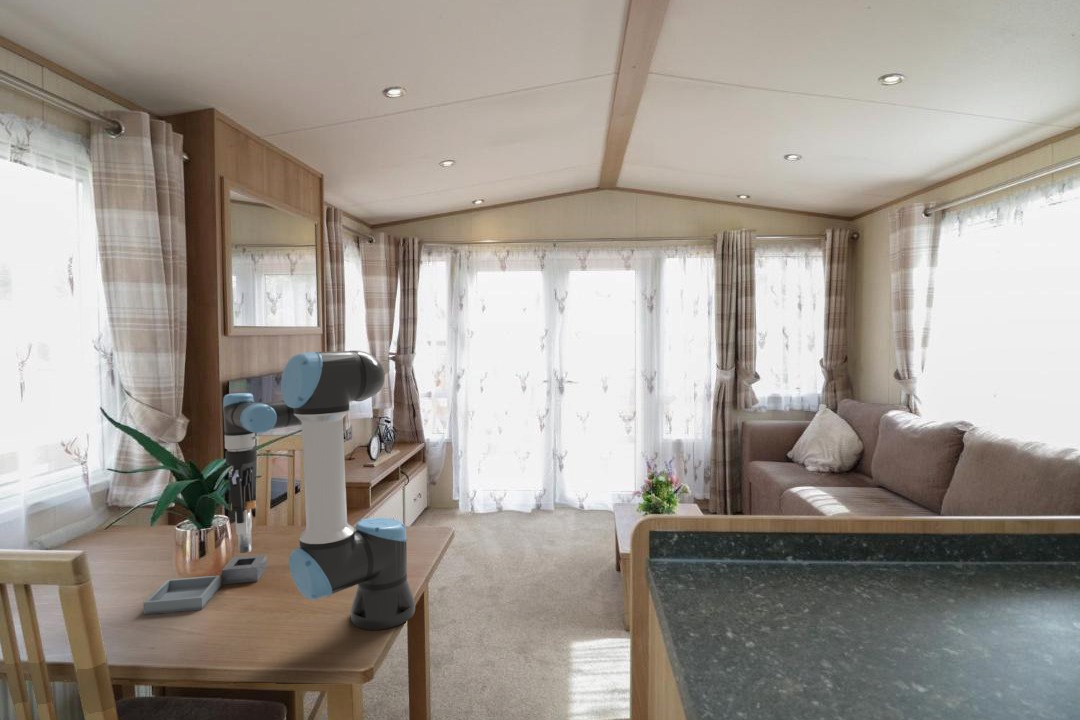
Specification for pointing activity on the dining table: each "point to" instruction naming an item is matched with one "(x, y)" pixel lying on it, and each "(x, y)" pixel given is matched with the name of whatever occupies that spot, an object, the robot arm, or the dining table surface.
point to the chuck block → (244, 569)
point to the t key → (245, 539)
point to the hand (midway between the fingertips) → (244, 531)
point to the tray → (182, 595)
